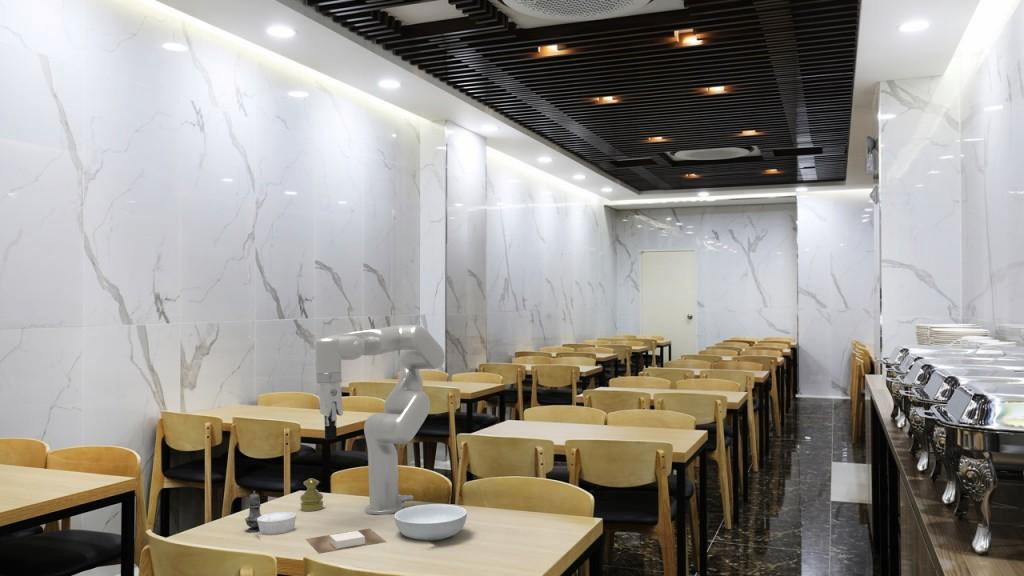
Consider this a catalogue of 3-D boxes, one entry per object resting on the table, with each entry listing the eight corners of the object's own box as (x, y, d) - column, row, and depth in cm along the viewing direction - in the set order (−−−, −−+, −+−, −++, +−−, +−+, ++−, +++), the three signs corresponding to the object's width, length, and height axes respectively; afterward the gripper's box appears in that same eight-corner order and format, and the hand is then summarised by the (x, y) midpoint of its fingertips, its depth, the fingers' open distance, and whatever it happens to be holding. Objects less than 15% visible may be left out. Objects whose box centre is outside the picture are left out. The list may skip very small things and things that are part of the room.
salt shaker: (259, 532, 244) (258, 492, 244) (241, 532, 245) (240, 492, 245) (268, 527, 250) (267, 488, 250) (251, 527, 251) (250, 488, 251)
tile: (357, 530, 230) (364, 536, 224) (357, 538, 230) (365, 544, 224) (329, 535, 226) (336, 541, 220) (329, 543, 226) (336, 549, 220)
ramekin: (250, 535, 242) (249, 517, 242) (283, 526, 250) (283, 509, 250) (270, 541, 235) (269, 523, 235) (303, 532, 243) (303, 515, 243)
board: (369, 532, 240) (369, 528, 240) (387, 546, 226) (386, 541, 226) (305, 543, 231) (305, 538, 231) (318, 558, 217) (318, 553, 217)
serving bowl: (410, 552, 220) (409, 526, 220) (385, 534, 238) (384, 510, 238) (479, 539, 229) (478, 515, 230) (450, 522, 248) (449, 500, 248)
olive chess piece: (305, 506, 275) (304, 476, 275) (326, 506, 274) (325, 476, 274) (297, 511, 268) (296, 481, 268) (318, 511, 267) (317, 481, 267)
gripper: (347, 379, 242) (349, 440, 242) (334, 375, 255) (336, 434, 255) (322, 381, 239) (324, 443, 238) (310, 377, 252) (312, 436, 252)
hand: (330, 438), depth 247 cm, fingers closed
